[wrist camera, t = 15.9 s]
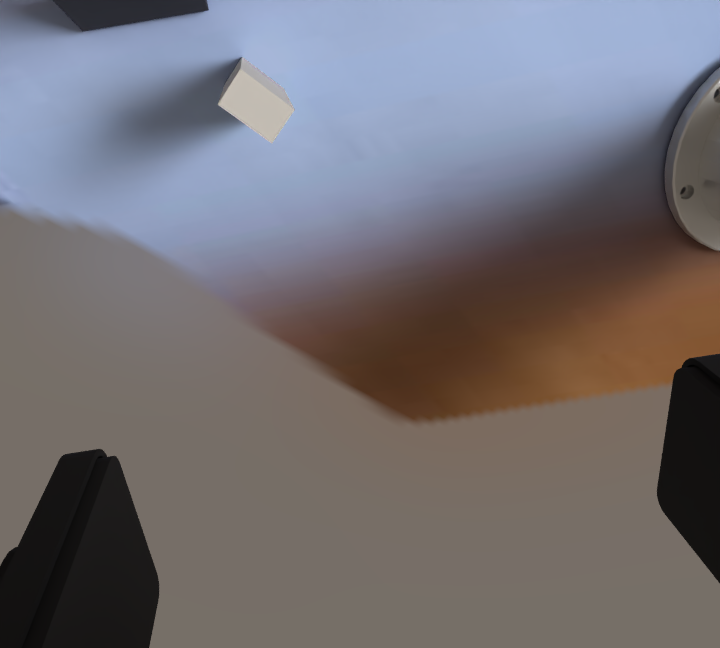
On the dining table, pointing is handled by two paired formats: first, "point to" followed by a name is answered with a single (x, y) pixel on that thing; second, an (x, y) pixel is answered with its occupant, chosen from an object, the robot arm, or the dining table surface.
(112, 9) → the phone stand
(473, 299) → the dining table surface
